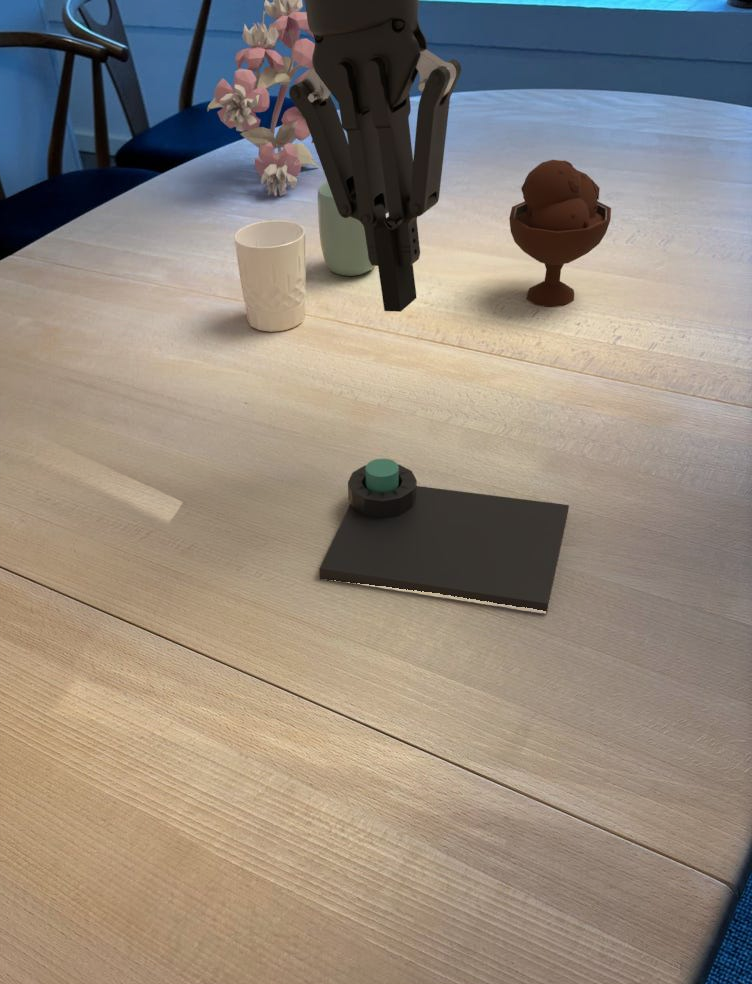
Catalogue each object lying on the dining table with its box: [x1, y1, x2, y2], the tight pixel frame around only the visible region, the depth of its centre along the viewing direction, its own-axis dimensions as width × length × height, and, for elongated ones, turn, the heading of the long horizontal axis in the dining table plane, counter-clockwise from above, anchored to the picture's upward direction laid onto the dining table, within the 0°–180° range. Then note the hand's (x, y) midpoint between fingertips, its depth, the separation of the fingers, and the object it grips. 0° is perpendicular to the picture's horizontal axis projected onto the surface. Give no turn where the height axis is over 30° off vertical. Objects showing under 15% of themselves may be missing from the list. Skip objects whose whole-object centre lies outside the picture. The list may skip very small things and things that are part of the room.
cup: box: [317, 180, 375, 277], centre depth 120 cm, size 8×8×10 cm
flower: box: [206, 0, 319, 197], centre depth 144 cm, size 20×22×25 cm
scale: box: [319, 464, 570, 612], centre depth 80 cm, size 18×13×3 cm
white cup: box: [233, 219, 307, 333], centre depth 111 cm, size 8×8×10 cm
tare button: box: [365, 458, 399, 493], centre depth 83 cm, size 3×3×2 cm
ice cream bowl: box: [509, 159, 612, 308], centre depth 108 cm, size 11×11×15 cm
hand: (400, 304), depth 79 cm, fingers closed
